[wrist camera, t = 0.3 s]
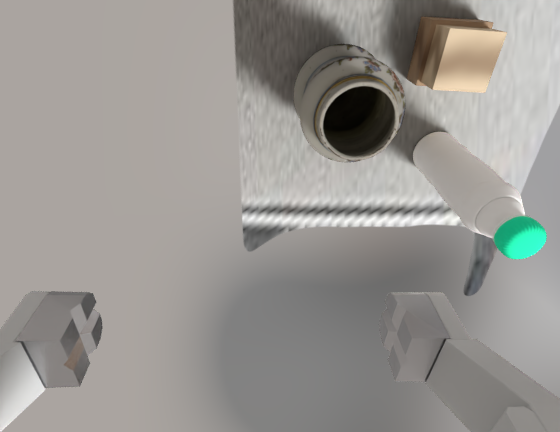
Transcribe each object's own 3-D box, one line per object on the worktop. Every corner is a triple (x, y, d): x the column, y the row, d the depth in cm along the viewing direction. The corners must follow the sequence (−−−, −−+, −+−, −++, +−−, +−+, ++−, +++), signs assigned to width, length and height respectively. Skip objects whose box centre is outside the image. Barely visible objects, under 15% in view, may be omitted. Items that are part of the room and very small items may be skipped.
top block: (436, 24, 46) (450, 28, 42) (489, 28, 46) (507, 32, 43) (420, 82, 50) (432, 89, 46) (470, 84, 50) (485, 92, 47)
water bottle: (464, 141, 59) (576, 232, 38) (435, 176, 62) (524, 277, 41) (430, 122, 57) (529, 207, 36) (402, 160, 60) (478, 257, 39)
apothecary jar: (342, 16, 48) (380, 35, 33) (388, 87, 54) (439, 131, 39) (273, 78, 52) (278, 120, 37) (322, 139, 57) (345, 196, 42)
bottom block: (420, 16, 49) (432, 19, 45) (477, 19, 49) (493, 22, 46) (406, 78, 53) (416, 85, 50) (458, 80, 54) (472, 87, 50)
